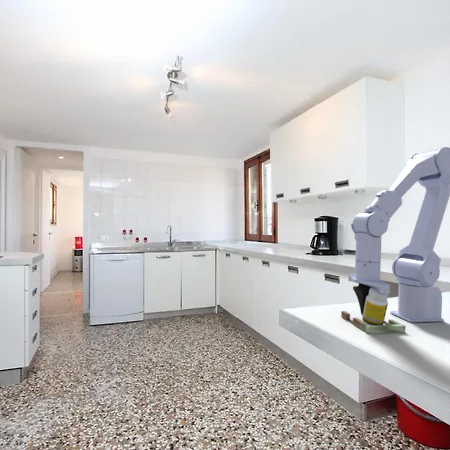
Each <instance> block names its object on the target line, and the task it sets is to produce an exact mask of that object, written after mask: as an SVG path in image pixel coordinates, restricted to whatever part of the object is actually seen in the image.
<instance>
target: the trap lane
mask: <svg viewBox="0 0 450 450" xmlns="http://www.w3.org/2000/svg"><path fill="white" fill-rule="evenodd" d="M340 314H341V315H340V316H341V318H342V319H344V320H345V321H347V322H349V323H350V324H352V325H354V326H355V327H357V328H359V329H360V330H362V331H364V332H365V333H367V334H368V335H369V334H395V333H396V334H399V333H400V334H401V333H406V325H405V324H403V323H400V322H399V321H397V320H395V319H388V320H387V321H388V322H387V321H386V320H384V324H383V325H369V324H367V323H365V322H363V320H362V319H360V318H359V317H352V319H351V313H349V312H348V311H345V310H342V311H341V312H340Z"/></svg>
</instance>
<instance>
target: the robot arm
mask: <svg viewBox="0 0 450 450" xmlns="http://www.w3.org/2000/svg"><path fill="white" fill-rule="evenodd" d="M404 165H405V167H404V169H403V170H402V172H401V173H400V174H399V175H398V177H397V178H396V180H395V181H394V183H393V184H392V185H391V187H390V188H389V189H384V190H381V191H378V192H377V193H376V197H375V198H374V199H373V200H372V202H371V203H370V204H369V205H368V206H366V208H365V209H364V211H363V212H360V213H358V214H357V215H356V216H355V217H354V218H353V220H352V223H350V227H351V230H352V232H353V234H354V240H355V264H354V267H355V268H354V273H348V279H347V281H348V282H353V283H355V284H358V285H354V286H352V290H353V291H354V293H355V295H356V298H357V302H358V305H359V309H360V314H361V316H363V311H364V306H365V301H366V297H367V296H368V295H369V290H370V288H372V287H373V288H375V289H376V290H377V291H379V293H388V294H390V290H391V287H390V286H391V284H389V283H386V282H384V281H383V280H382V279H381V265H382V264H381V263H382V262H381V259H382V253H381V252H382V236H383V235H385V234H386V233H387V231H388V229H389V222H390V221H391V218H392V217H393V216H394V214H395V213H396V212H397V211H398V210H399V208H400V207H401V206H402V205H403V199H402V198H403V196H404V195H405V194H406V193H407V192H408V191H410V190H411V188H412V187H413V186H414V185H415V184H416V183H417V182H418V184H419V185H420V186H421V187H423V188H425V193H424V197H423V200H422V203H421V207H420V211H419V212H418V216H417V218H416V219H417V220H416V222H415V225H414V229H413V231H412V235H411V237H410V238H411V239H410V241H409V243H408V245H407V246H405V247H403V248H401V249H400V250H399V253H398V255H397V257H396V258H395V259H394V260H393V262H392V264H391V265H392V266H391V270H392V274H393V275H394V277H396V282H398V297H397V298H398V299H397V300H398V301H397V310H391V311H390V314H392V315H395V316H396V317H398V318H401V319H403V320H405V321H408V322H410V323H425V322H426V323H427V322H445V319H444V318H443V317H442V316H443V315H442V313H443V311H442V310H443V309H442V308H443V306H442V305H443V295H442V294H443V293H442V291H441V289H440V288H439V286H438V285H437V284H435V283H436V282H437V281H438V280H439V278H440V274H441V272H440V271H441V269H440V266H441V260H442V259H441V258H440V256H439V255H438V254H437V253H436V252H435V250H434V248H435V245H436V242H437V238H438V235H439V233H440V229H441V226H442V222H443V219H444V216H445V212H446V210H447V208H448V207H447V206H448V203H449V200H450V147H449V146H445V147H442V148H438V149H433V150H430V151H425V152H420V153H419V152H418V153H414V154H412V155H411V156H410V157H409V159H408V160H407V161H405V164H404Z"/></svg>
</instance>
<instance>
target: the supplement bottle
mask: <svg viewBox="0 0 450 450" xmlns="http://www.w3.org/2000/svg"><path fill="white" fill-rule="evenodd" d="M388 298H389V293H379V291H377V290H376V289H375V288H373V287H372V288H370V290H369V295H368V296H367V297H366V301H365V306H364V311H363V316H362V315H361V316H362V317H361V320H362V321H363V322H365V323H367V324H369V325H385V324H384V321H385V319H386V314H387V309H388V306H389V305H388V304H389V300H388Z"/></svg>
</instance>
